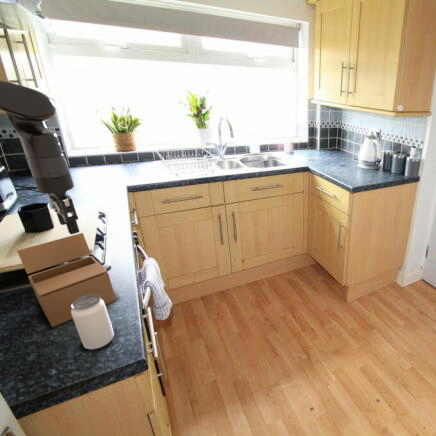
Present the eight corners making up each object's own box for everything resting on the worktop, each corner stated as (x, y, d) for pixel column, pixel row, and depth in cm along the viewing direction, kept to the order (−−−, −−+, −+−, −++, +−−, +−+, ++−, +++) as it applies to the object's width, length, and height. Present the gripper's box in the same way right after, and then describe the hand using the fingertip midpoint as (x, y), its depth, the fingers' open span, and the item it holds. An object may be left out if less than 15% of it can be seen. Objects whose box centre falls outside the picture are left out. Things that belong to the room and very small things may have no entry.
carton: (52, 327, 83) (38, 295, 79) (39, 303, 91) (26, 273, 87) (116, 300, 94) (107, 270, 89) (99, 281, 102) (91, 253, 98)
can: (119, 338, 80) (107, 299, 76) (90, 354, 75) (76, 314, 71) (107, 327, 84) (95, 290, 79) (78, 342, 79) (64, 303, 74)
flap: (17, 250, 86) (16, 250, 86) (27, 274, 87) (27, 273, 87) (82, 232, 96) (82, 232, 96) (91, 253, 97) (90, 253, 98)
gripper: (26, 169, 84) (46, 225, 91) (39, 181, 76) (60, 241, 82) (61, 164, 89) (78, 217, 96) (77, 175, 81) (94, 231, 88)
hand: (69, 228), depth 89 cm, fingers open, 8 cm apart
